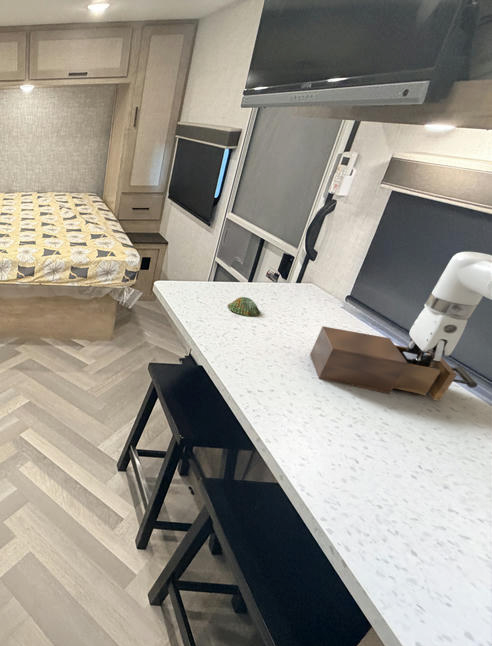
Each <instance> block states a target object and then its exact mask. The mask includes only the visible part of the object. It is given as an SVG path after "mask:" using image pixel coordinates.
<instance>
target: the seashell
mask: <svg viewBox="0 0 492 646" xmlns="http://www.w3.org/2000/svg"><path fill="white" fill-rule="evenodd" d="M227 308H228V309H230V310H229V311H231V310H232V311H233V312H232V311H231V312H232V313H234V312H235V313H234V314H236V313H238V314H237V315H240V314H241V315H240V316H244V317H258V316H260V315H261V311H260V309H259V307H258V305H257V304H256V302H254V300H253V299H251V298H249V297H246V296H239V297H237V298H236V299H235V300H233V301H232V302H230V303H228V304H227Z"/></svg>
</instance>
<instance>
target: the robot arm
mask: <svg viewBox="0 0 492 646" xmlns="http://www.w3.org/2000/svg"><path fill="white" fill-rule="evenodd" d="M483 298H487V299H488V300H491V301H492V255H491V254H487V253H483V252H476V251H460V252H457V253H456V254H454V255H453V256H452V257H451V259H450V260H449V262H448V264H447V265H446V267H445V269H444V271H443V272H442V273H441V276H440V277H439V279H438V281H437V283H436V284H435V286H434V287H433V290H432V292H431V293H430V294H429V297H427V300H426V301H425V303H424V305H423V306H424V308H423V309H422V310H421V312H420V313H419V315H418V316H417V318H416V319H415V321H414V322H413V324H412V325H411V328H410V329H409V335H408V336H409V337H410V339H409V341H410V342H409V343H408V345H407V346H406V347H407V349H408V350H406V352H408V353H413V354H418V355H417V357H416V359H413V360H412V361H411V363H410V364H414V365H419V366H424V367H429V366H430V364H432V363H433V362H434V361H440V360H441V357H442V358H443V356H445V357H449V356H450V355H451V354H452V353H453V352H454V350H455V348H456V346H457V344H458V343H459V341H460V339H461V337H462V336H463V334H464V331H465V328H466V326H467V323H468V320H469V319H470V317H471V316H472V314H473V313H474V311H475V310H476V308H477V306H478V305H479V303H481V301H482V299H483ZM427 353H429V354H431V355H427ZM423 355H424V356H423Z"/></svg>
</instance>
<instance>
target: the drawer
mask: <svg viewBox="0 0 492 646" xmlns="http://www.w3.org/2000/svg"><path fill="white" fill-rule="evenodd" d="M394 345H395V346H396V347H397V349H398V350H399V351H400V353H401V354H403V352H406V350H408V349H407V346H403V345H396V344H394ZM426 355H431V354H429V353H426ZM457 376H458V377H459V378H460V379H457ZM453 382H454V383H457V384H458V383H459V384H463V385H466V386H467V387H469V388H472V389H473V388H476V387H478V383H477V382H476V381H475V379H474V378H473V377H472V376H471V375H470V374H469V373H468V372H467V371H466V370H465V368H463V367H462V366H455V367H453V366H450V365H449V364H448V363H447V362H446V359H444V358H443V356H442V357H441V360H440V361H434V362H433V363H432V364H431V365H430V366H429V367H424V366H419V365H414V364H409V363H408V364H407V365H406V367H405V369H404V370H403V372H402V374H401V375H400V377H399V379H398V380H397V382H396V384H395V385H394V387H393V389H397V390H400V391H405V392H410V393H415V394H419V395H423V396H426V395H427V393H428V394H429V396H430V397H431V398H432V399H433V400H435V401H441V400H442V398H443V396H444V395H445V393H446V392H447V391H448V390H449V388H450V386H451V385H452V384H453Z"/></svg>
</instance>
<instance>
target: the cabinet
mask: <svg viewBox="0 0 492 646" xmlns="http://www.w3.org/2000/svg"><path fill="white" fill-rule="evenodd" d="M395 345H396V344H395V343H394V342H393V340H392V339H391V338H390V337H385V336H380V335H374V334H369V333H364V332H358V331H353V330H352V331H351V330H345V329H340V328H335V327H329V326H321V328H320V331H319V333H318V336H317V338H316V339H315V342H314V344H313V347H312V349H311V351H310V354H309V356H310V358H311V362H312V365H313V367H314V369H315V372H316V375H317V378H318V379H320V380H325V381H328V382H329V381H330V382H332V383H333V382H334V383H338V384H343V385H347V386H352V387H357V388H360V389H366V390H369V391H373V392H374V391H375V392H379V393H383V394H388V395H390V393H391V392H392V390H393V389H394V388H393V387H394V385H395V384H396V382H397V380H398V379H399V377H400V375H401V374H402V372H403V370H404V369H405V367H406V365H407V364H408V362H407V361H406V360H405V358H404V357H403V356H402V354H401V353H400V351H399V350H398V349H397V347H396V346H395Z"/></svg>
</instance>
